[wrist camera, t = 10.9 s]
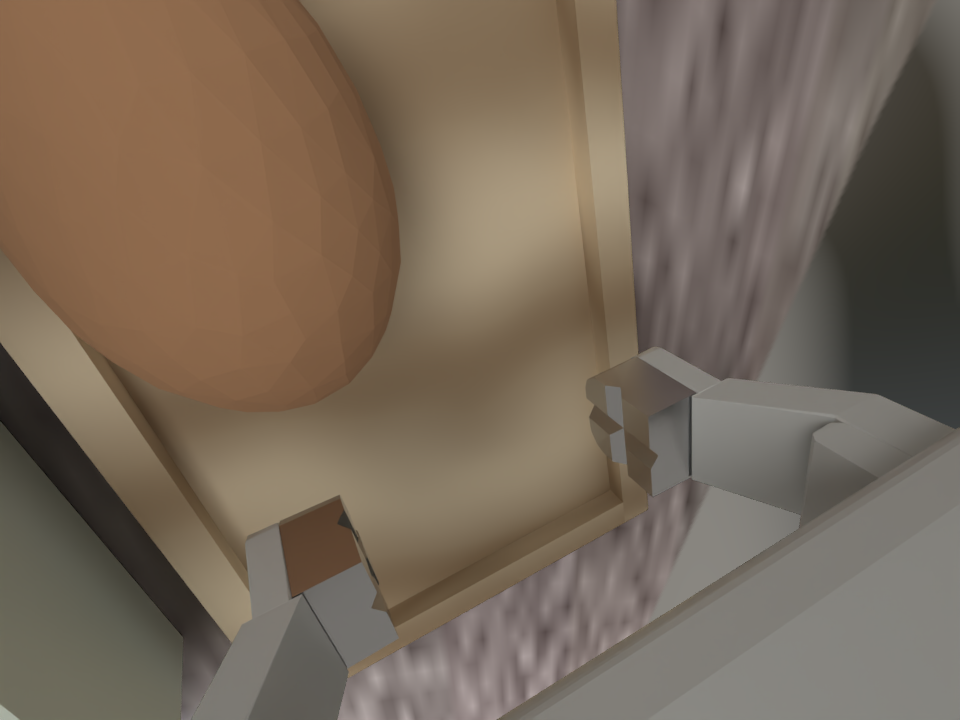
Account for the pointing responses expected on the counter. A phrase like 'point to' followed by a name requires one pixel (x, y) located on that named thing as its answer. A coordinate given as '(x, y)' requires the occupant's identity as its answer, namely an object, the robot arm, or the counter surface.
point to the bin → (73, 614)
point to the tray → (416, 331)
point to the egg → (197, 193)
